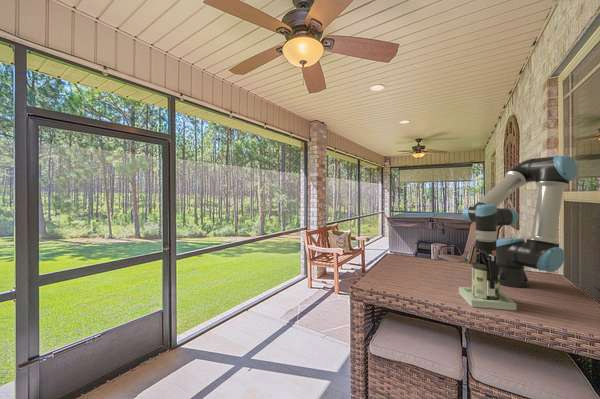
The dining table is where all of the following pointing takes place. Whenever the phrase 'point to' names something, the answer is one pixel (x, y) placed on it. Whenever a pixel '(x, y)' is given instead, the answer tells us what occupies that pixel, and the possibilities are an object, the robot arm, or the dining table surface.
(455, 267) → the dining table surface
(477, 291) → the coffee can
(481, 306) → the base plate
